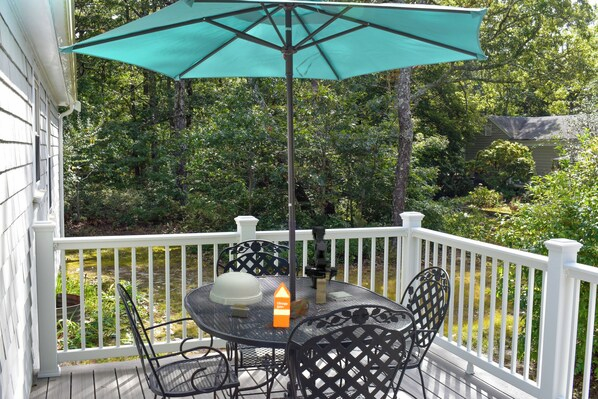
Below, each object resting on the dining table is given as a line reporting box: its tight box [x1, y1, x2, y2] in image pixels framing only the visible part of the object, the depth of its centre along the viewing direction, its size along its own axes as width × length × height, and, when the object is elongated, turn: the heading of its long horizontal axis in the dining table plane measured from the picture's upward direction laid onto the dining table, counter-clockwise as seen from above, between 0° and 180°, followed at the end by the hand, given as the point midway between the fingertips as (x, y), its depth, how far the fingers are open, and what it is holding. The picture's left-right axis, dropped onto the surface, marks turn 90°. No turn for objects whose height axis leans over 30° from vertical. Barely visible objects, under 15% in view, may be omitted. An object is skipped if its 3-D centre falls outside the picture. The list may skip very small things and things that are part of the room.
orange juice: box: [273, 282, 291, 328], centre depth 275 cm, size 8×9×20 cm
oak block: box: [315, 278, 327, 304], centre depth 315 cm, size 5×5×13 cm
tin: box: [289, 298, 310, 319], centre depth 290 cm, size 15×3×8 cm, turn 143°
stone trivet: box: [328, 290, 353, 299], centre depth 326 cm, size 10×10×3 cm
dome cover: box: [209, 271, 263, 306], centre depth 319 cm, size 32×30×14 cm
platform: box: [229, 303, 250, 318], centre depth 286 cm, size 12×18×7 cm, turn 77°
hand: (321, 283), depth 318 cm, fingers open, 9 cm apart
